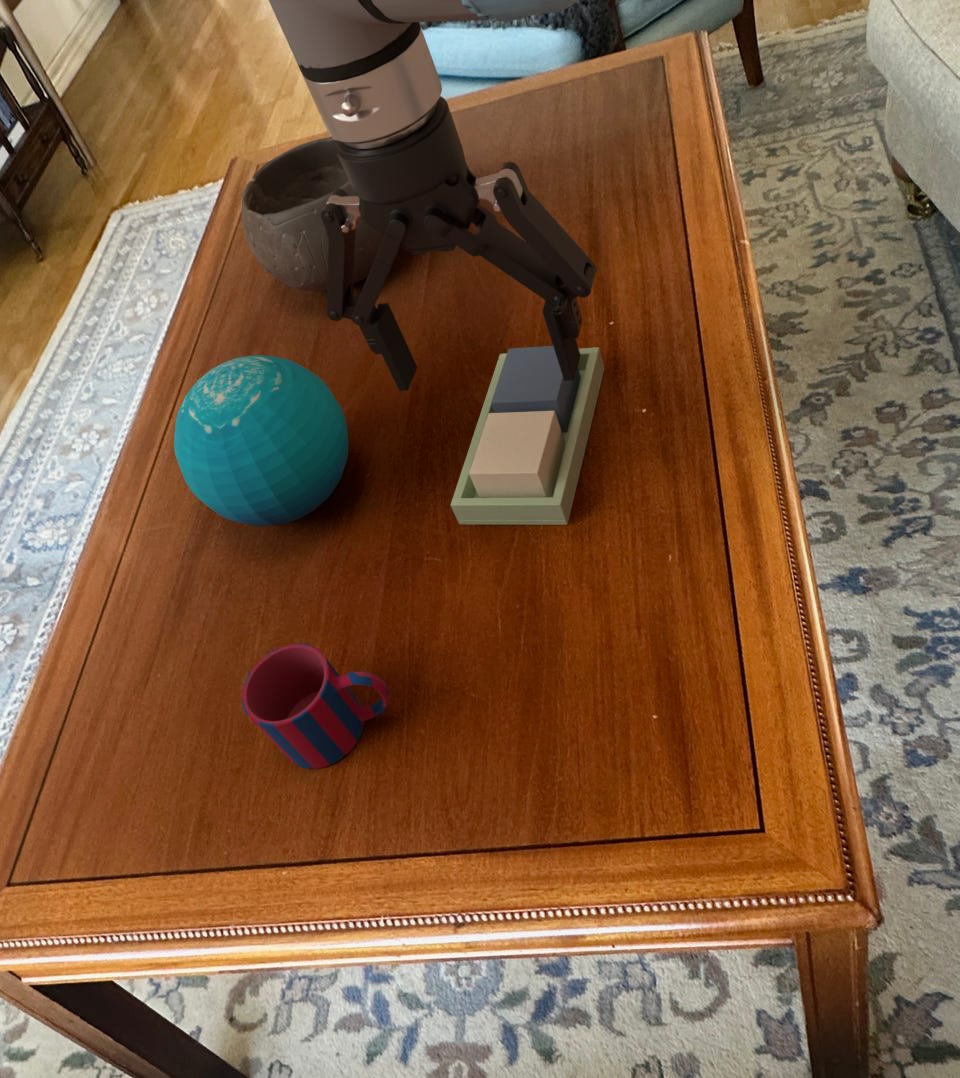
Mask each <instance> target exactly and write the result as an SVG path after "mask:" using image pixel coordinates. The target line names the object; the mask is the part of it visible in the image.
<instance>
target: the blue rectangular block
mask: <svg viewBox="0 0 960 1078" xmlns="http://www.w3.org/2000/svg"><path fill="white" fill-rule="evenodd" d="M506 353H507V355H506V358H505V361H504V364H503V367H502V370H501V374H500V377H499V380H498V383H497V386H496V389H495V392H494V395H493V398H492V401H491V404H492V407H493V409H494V412H495V413H507V412H532V411H555V413H556V416H557V419H558V422H559V425H560V429H561V432H567V430H568V426H569V422H570V418H571V415H572V411H573V407H574V403H575V399H576V395H577V391H578V387H579V383H580V379H581V376H580V372H579V369H578V367H577V371H576V375H575V379H574V380H571V381H564V378H563V375H562V372H561V369H560V366H559V363H558V359H557V356H556V353H555V350H554V347H553V345H544V346H543V345H542V346H529V347H514V348H508V349H507V352H506Z"/></svg>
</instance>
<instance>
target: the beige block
mask: <svg viewBox="0 0 960 1078" xmlns="http://www.w3.org/2000/svg"><path fill="white" fill-rule="evenodd" d="M564 446H565V441H564V438H563V435H562V432H561V429H560V425H559V422H558V419H557V416H556V413H555V411H532V412H507V413H489V414H488V417H487V420H486V423H485V426H484V429H483V432H482V435H481V438H480V441H479V444H478V448H477V451H476V454H475V457H474V460H473V463H472V466H471V469H470V472H469V475H470V477H471V479H472V482H473V484H474V486H475V488H476V491H477V493H478V495H479V497H480V498H539V497H551V496H552V492H553V489H554V485H555V481H556V477H557V473H558V469H559V465H560V461H561V457H562V454H563V450H564Z"/></svg>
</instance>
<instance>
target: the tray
mask: <svg viewBox="0 0 960 1078" xmlns="http://www.w3.org/2000/svg"><path fill="white" fill-rule="evenodd" d="M579 352H580V355H581V356H580V360H579V363H578V369H579V372H580V376H581V379H580V383H579V387H578V391H577V395H576V399H575V403H574V407H573V411H572V415H571V418H570V422H569V426H568V430H567V432H562V435H563V438H564V441H565V446H564V450H563V454H562V457H561V461H560V465H559V469H558V473H557V477H556V481H555V485H554V489H553V492H552V496H551V497H539V498H480V497H479V495H478V493H477V491H476V488H475V486H474V484H473V482H472V479H471V477H470V475H469V472H470V469H471V466H472V463H473V460H474V457H475V454H476V451H477V448H478V444H479V441H480V438H481V435H482V432H483V429H484V426H485V423H486V420H487V417H488V414H489V413H495V412H494V409H493V407H492V404H491V401H492V398H493V395H494V392H495V389H496V386H497V383H498V380H499V377H500V374H501V370H502V367H503V364H504V361H505V358H506V355H507V352H506V353H505V352H504V353H499V356H498V358H497V362H496V365H495V368H494V371H493V374H492V377H491V381H490V382H489V383H490V384H489V386H488V389H487V393H486V396H485V399H484V401H483V405H482V408H481V410H480V414H479V416H478V420H477V422H476V426H475V429H474V431H473V435H472V439H471V441H470V444H469V447H468V451H467V454H466V456H465V460H464V463H463V465H462V469H461V472H460V474H459V478H458V481H457V484H456V487H455V490H454V493H453V496H452V499H451V502H450V508H451V510H452V512H453V514H454V516H455V518H456V520H457V522H458V524H459V525H491V526H492V525H493V526H494V525H502V526H503V525H504V526H505V525H509V526H511V525H513V526H514V525H519V526H520V525H521V526H524V525H525V526H527V525H528V526H529V525H530V526H533V525H534V526H535V525H537V526H544V525H546V526H547V525H549V526H557V525H559V526H560V525H561V526H567V525H568V524H569V521H570V517H571V512H572V508H573V504H574V499H575V495H576V492H577V486H578V482H579V479H580V473H581V470H582V465H583V461H584V457H585V452H586V449H587V445H588V440H589V435H590V431H591V427H592V423H593V420H594V419H593V418H594V414H595V410H596V407H597V403H598V402H597V401H598V398H599V393H600V389H601V384H602V381H603V378H604V377H603V376H604V372H605V365H604V360H603V357H602V353H601V349H600V347H599V346H597V347H582V348H579Z"/></svg>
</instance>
